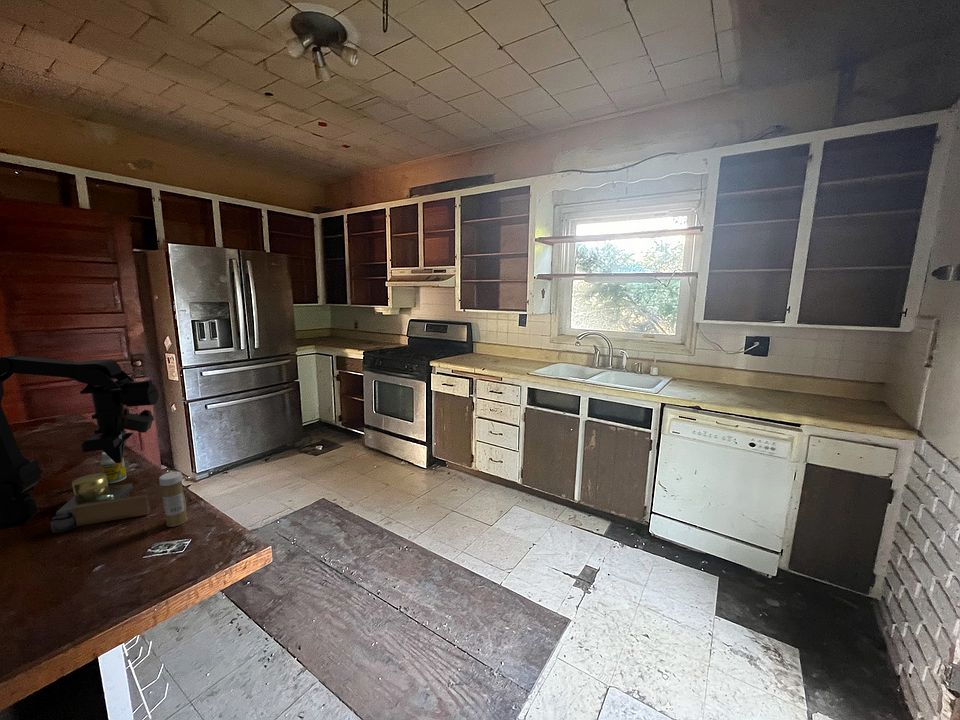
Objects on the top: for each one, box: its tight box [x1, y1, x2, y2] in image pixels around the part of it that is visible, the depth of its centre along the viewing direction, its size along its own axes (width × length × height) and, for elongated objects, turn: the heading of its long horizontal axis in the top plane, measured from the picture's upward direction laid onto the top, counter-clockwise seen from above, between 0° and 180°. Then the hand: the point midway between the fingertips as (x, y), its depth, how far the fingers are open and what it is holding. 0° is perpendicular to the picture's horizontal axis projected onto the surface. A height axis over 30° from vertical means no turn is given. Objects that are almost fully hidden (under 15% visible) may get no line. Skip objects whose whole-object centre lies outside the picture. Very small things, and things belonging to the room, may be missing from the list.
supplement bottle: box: [100, 451, 127, 485], centre depth 124 cm, size 5×5×10 cm
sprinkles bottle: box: [158, 471, 189, 528], centre depth 102 cm, size 5×5×14 cm
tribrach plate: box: [55, 472, 133, 515], centre depth 112 cm, size 12×12×6 cm
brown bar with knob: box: [49, 494, 151, 534], centre depth 103 cm, size 20×5×5 cm, turn 112°
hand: (119, 462), depth 108 cm, fingers closed
